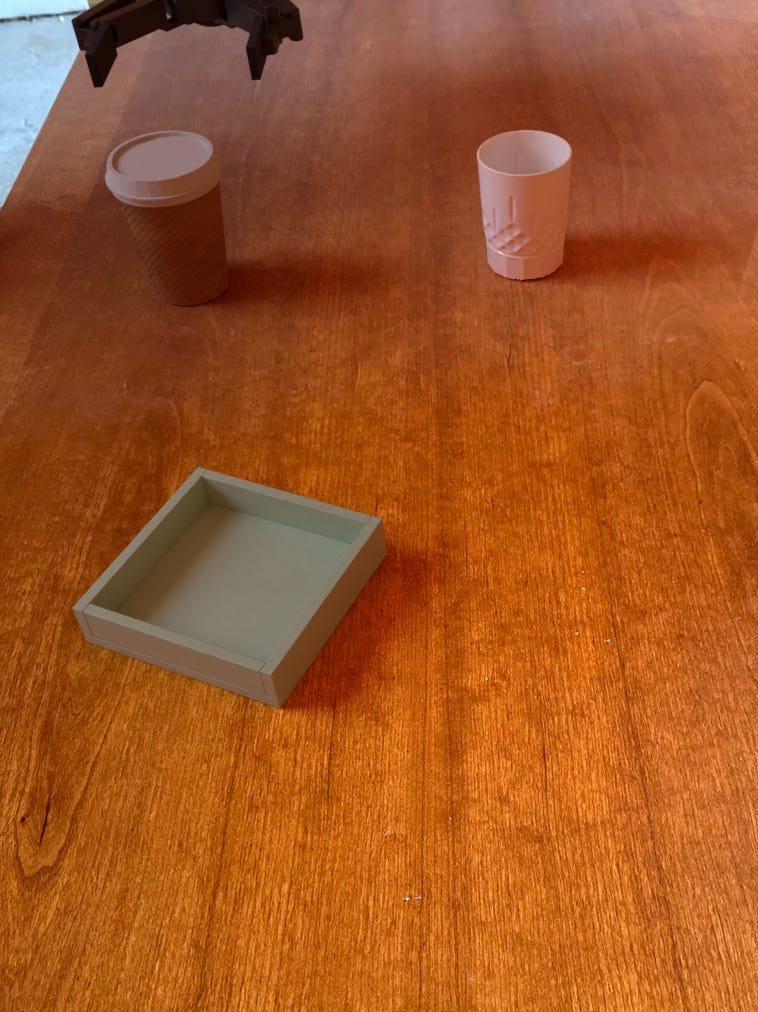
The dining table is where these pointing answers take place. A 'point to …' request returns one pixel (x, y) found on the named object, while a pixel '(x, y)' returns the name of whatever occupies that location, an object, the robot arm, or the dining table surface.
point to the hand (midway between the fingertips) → (173, 67)
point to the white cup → (524, 201)
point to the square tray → (234, 585)
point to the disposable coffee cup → (174, 211)
